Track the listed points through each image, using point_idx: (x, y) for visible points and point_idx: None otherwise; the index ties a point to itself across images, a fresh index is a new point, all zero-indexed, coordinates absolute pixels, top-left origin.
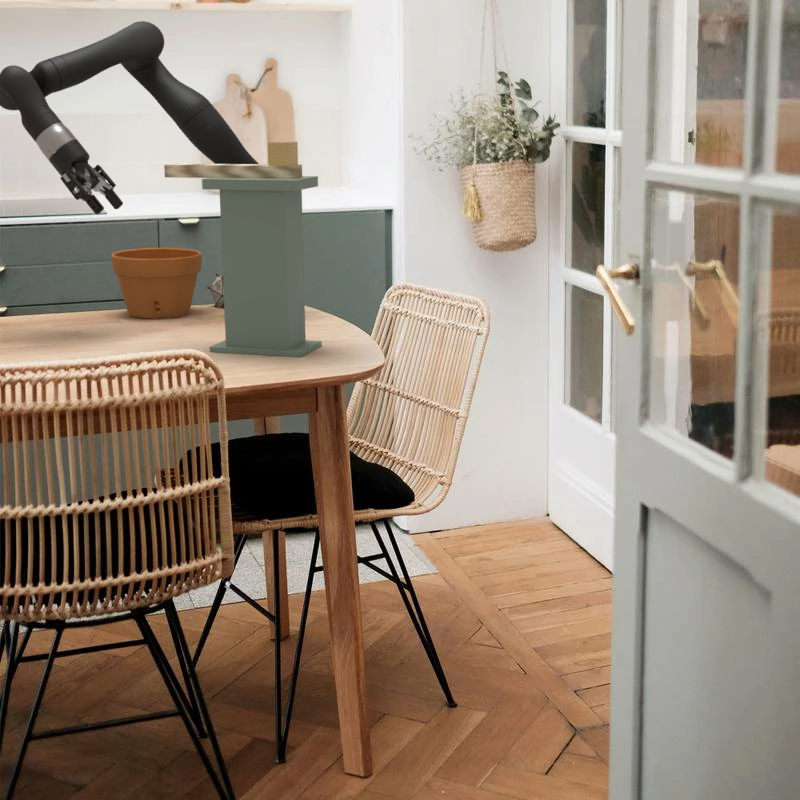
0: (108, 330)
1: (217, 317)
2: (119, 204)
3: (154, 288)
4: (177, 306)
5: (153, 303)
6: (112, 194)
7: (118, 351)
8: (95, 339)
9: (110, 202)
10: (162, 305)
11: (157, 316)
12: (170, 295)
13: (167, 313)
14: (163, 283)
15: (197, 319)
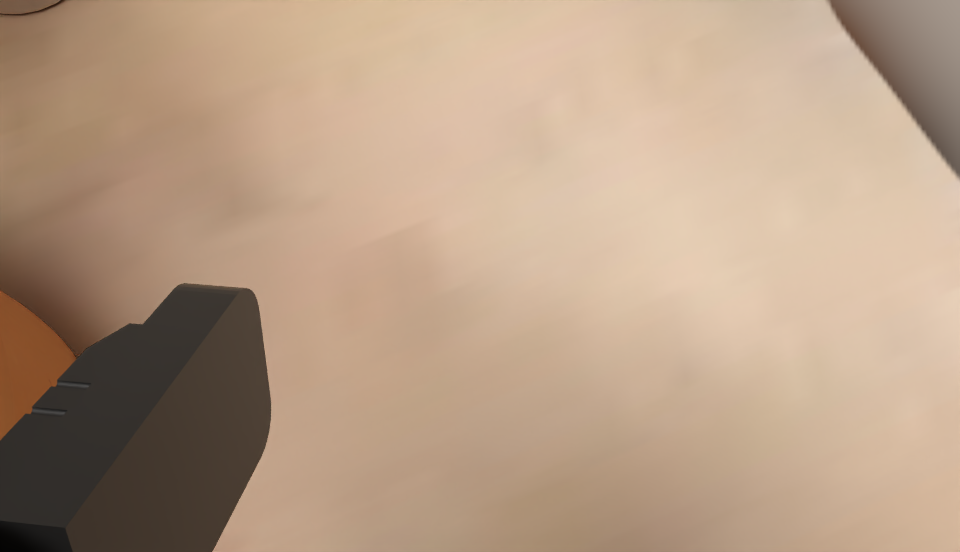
0: (430, 535)
1: (43, 132)
2: (252, 334)
3: (30, 390)
4: (23, 306)
5: None
6: (128, 495)
7: (950, 258)
8: (679, 502)
9: (206, 545)
10: (65, 366)
11: None
12: (21, 316)
13: (70, 354)
14: (1, 332)
15: (98, 204)
